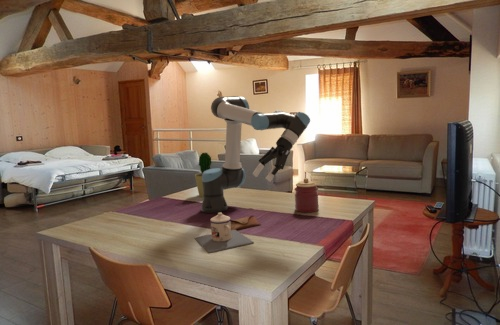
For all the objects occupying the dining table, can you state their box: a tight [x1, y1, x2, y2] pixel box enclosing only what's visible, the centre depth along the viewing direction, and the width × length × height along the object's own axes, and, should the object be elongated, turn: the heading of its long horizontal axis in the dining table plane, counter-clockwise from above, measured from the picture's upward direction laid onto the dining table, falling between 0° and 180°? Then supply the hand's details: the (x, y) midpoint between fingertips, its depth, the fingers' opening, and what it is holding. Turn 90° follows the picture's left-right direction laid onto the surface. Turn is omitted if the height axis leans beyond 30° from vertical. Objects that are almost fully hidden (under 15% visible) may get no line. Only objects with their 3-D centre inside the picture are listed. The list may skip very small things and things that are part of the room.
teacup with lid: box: [209, 212, 232, 242], centre depth 164 cm, size 12×9×12 cm
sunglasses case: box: [230, 215, 262, 231], centre depth 184 cm, size 18×7×7 cm, turn 122°
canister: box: [293, 177, 320, 213], centre depth 206 cm, size 13×13×18 cm
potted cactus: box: [194, 152, 212, 198], centre depth 253 cm, size 15×15×30 cm
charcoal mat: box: [194, 230, 255, 254], centre depth 164 cm, size 20×20×1 cm
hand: (260, 177), depth 172 cm, fingers open, 13 cm apart
